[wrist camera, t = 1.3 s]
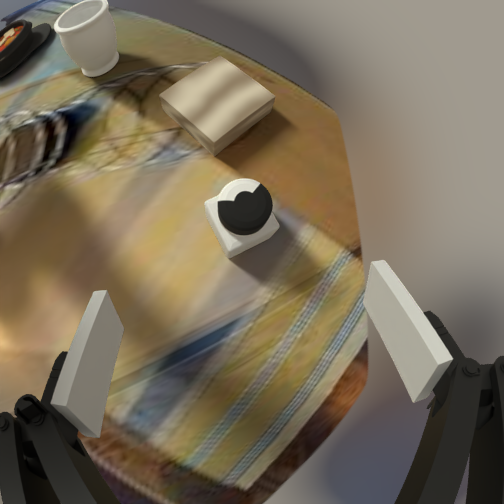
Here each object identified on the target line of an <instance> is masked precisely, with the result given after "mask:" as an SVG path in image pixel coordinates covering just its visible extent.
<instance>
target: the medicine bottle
mask: <svg viewBox="0 0 504 504" xmlns="http://www.w3.org/2000/svg"><path fill="white" fill-rule="evenodd" d="M204 204H205V211H206V217H207V220H208V222H209V224H210V226H211V228H212V229H213V231H214V233H215V235H216V237H217V239H218V241H219V243H220V245H221V247H222V249H223V251H224V253H225V255H226V257H227V258H232V257H234V256H236V255H238V254H240V253H242V252H243V251H245V250H247V249H249V248H251V247H253V246H255V245H257V244H259V243H261V242H263V241H265V240H267V239H269V238H271V236H272V235H273V234H274V233H275V232H276V231H277V230H278V229H279V227H280V226H279V223H278V222H277V220H276V218H275V216H274V214H273V212H272V206H273V204H272V198H271V196H270V193H269V192H268V190H267V189H266V188H265V187H264V186H263V185H262V184H261V183H259V182H257V181H255V180H252V179H237V180H234V181H232V182H230V183H228V184H227V185H226V186H225V187H224V188H223V189H222V191H221V192H220V194H219V195H218V196H216V197H213V198H211V199H209V200H207V201H206V202H205V203H204Z"/></svg>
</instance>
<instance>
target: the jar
mask: <svg viewBox="0 0 504 504" xmlns="http://www.w3.org/2000/svg"><path fill="white" fill-rule="evenodd" d="M108 7H109V5H108V2H107V0H85V1H82V2H80V3H78V4H76V5H74V6H72V7H70V8H69V9H68V10H66V11H65V12H64V13H63V14H61V15H60V16H59V18H58V19H57V20H56V22H55V24H54V29H55V31H56V33H58V34H60V39H61V42H62V45H63V47H64V49H65V51H66V53H67V54H68V55H69V57H70V58H71V59H72V60H73V61H74V62H75V64H76V65H78V66H79V67H80V68H82V72H83V74H84V75H86V76H88V77H95V76H99V75H102V74H104V73H106V72H108V71H109V70H111V69H112V68H113V67H114V66H115V65H116V63H117V62H118V59H119V53H118V52H117V51H116V49H117V39H116V29H115V24H114V21H113V19H112V16H111V14H110V13H109V11H108Z"/></svg>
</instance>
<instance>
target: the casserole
mask: <svg viewBox="0 0 504 504" xmlns="http://www.w3.org/2000/svg"><path fill="white" fill-rule="evenodd" d="M50 31H51V26H50V25H49V24H47V23H44V24H41V25H38V26H36V27H34V28H32V23H31V22H27V21H25V20H18V21H15V22H13V23H11V24H9V25H8V26H6V27H5V28H4V29H3V30H1V31H0V78H1V77H3V76H5V75H6V74H8V73H9V72H11V71H12V70H13V69H15V68H16V67H17V66H18V65H19V64H20V63H21V62H22V61H23V60H24V59H25V58H26V57H27V56H28V55H29V54H30V53H31V52H32V51H34V50H35V49H36V48H38V47H39V46H40V45H41V44H42V43H43V42H44V41H45V40H46V39H47V37H48V36H49V34H50Z"/></svg>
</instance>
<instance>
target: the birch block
mask: <svg viewBox="0 0 504 504" xmlns="http://www.w3.org/2000/svg"><path fill="white" fill-rule="evenodd" d="M159 96H160V100H161V104H162V108H163V111H164V112H165V113H166V114H168V115H169V116H170V117H171V118H172V119H173V120H174V121H176V122H177V123H178V124H179V125H180V126H181V127H182V128H183V129H185V130H186V131H187V132H188V133H189V134H190V135H191V136H192V137H193V138H195V139H196V140H197V141H198V142H199V143H200V144H201V145H202V146H203V147H204V148H206V149H207V150H208V151H209V152H210V153H211V154H212V155H213V156H216V155H217V154H218V153H219V152H220V151H222V150H223V149H224V148H225V147H227V146H228V145H229V144H230V143H231V142H233V141H234V140H235V139H236V138H238V137H239V136H240V135H241V134H243V133H244V132H245V131H247V130H248V129H249V128H250V127H252V126H253V125H254V124H256V123H257V122H258V121H260V120H261V119H262V118H264V117H265V116H266V115H268V114H269V113H270V112H271V110H272V106H273V103H274V100H275V97H276V96H274V95H273V94H272V93H271V92H269V91H268V90H267V89H265V88H264V87H263V86H262V85H260V84H259V83H258V82H256V81H255V80H254V79H252V78H251V77H250V76H248V75H247V74H245V73H244V72H243V71H241V70H240V69H239V68H237V67H236V66H234V65H233V64H231V63H230V62H229V61H227V60H226V59H224V58H223V57H221V56H218V57H217V58H215V59H213V60H211V61H210V62H208V63H206V64H205V65H203V66H202V67H200V68H198V69H197V70H195V71H194V72H192V73H190V74H189V75H187V76H186V77H184V78H183V79H181V80H180V81H178V82H177V83H175V84H174V85H172V86H171V87H170V88H168V89H167V90H165V91H164V92H163V93H161V94H160V95H159Z"/></svg>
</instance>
